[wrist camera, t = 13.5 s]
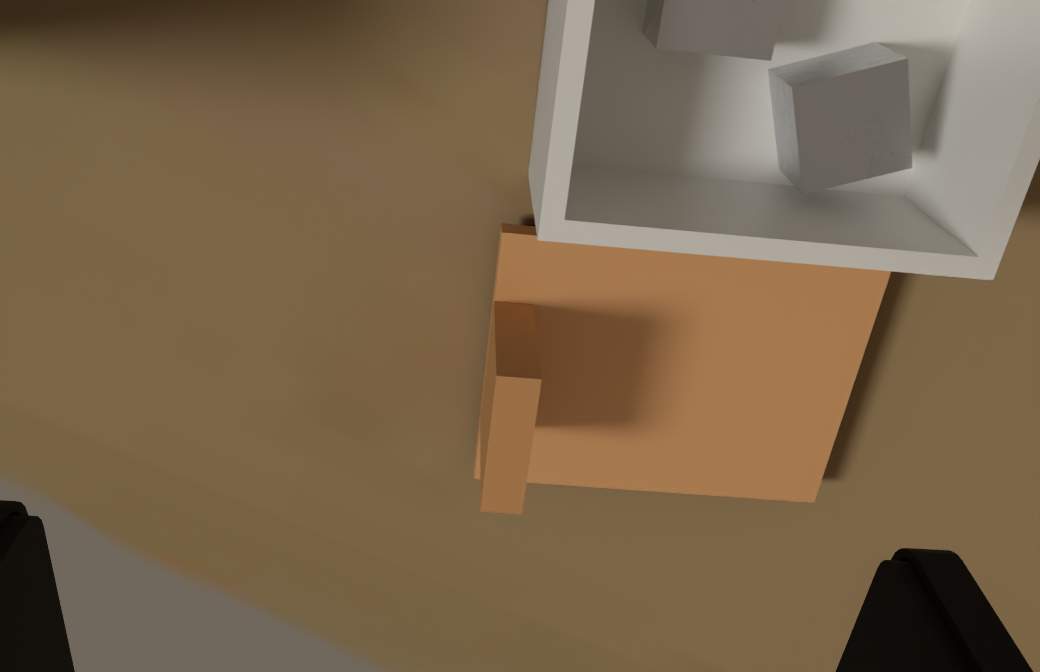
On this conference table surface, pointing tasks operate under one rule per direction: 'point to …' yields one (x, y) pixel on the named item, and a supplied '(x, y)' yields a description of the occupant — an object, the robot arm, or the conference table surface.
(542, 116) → the tub
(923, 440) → the conference table surface
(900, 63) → the steel block
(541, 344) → the lid
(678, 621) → the conference table surface
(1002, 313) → the conference table surface
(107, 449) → the conference table surface
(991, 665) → the robot arm
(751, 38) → the steel block
